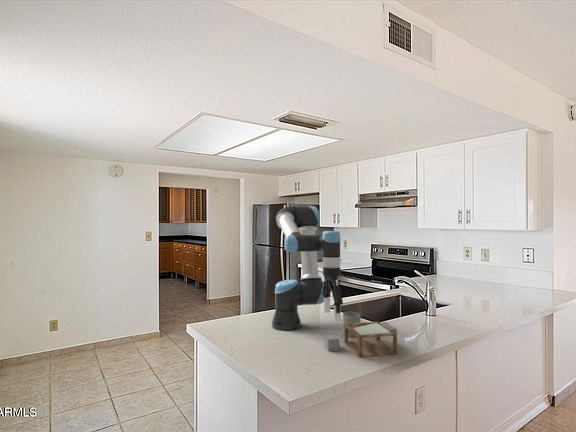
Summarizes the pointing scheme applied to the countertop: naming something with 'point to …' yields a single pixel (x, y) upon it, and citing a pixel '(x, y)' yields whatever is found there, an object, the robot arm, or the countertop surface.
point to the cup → (351, 321)
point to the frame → (369, 342)
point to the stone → (332, 343)
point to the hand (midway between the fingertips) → (332, 316)
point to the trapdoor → (375, 329)
